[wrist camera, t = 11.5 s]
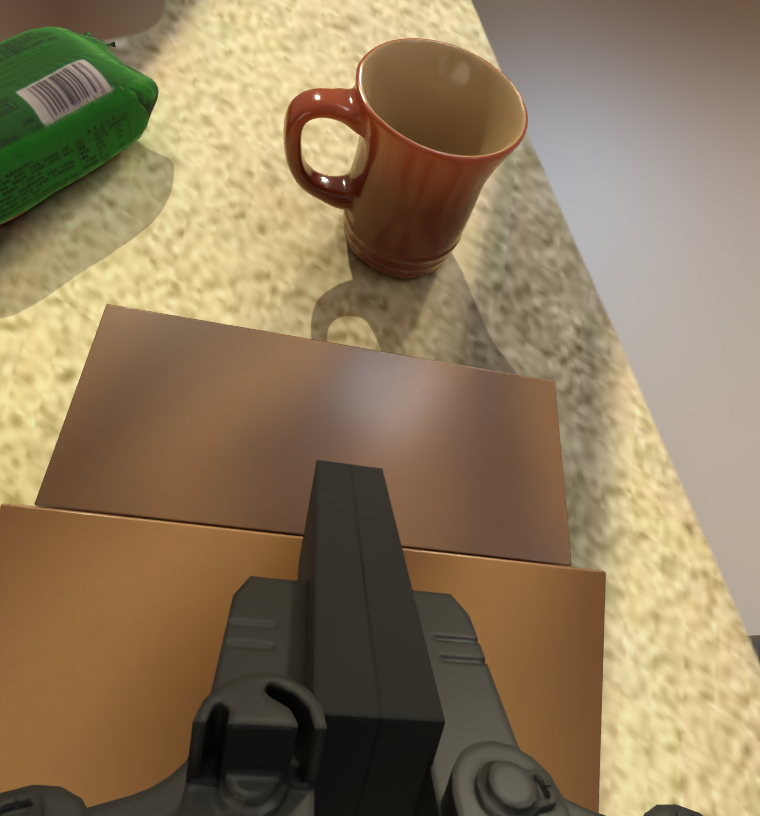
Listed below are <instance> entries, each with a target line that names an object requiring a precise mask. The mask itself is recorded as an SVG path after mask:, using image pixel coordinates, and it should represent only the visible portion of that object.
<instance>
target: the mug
mask: <svg viewBox="0 0 760 816" xmlns="http://www.w3.org/2000/svg"><path fill="white" fill-rule="evenodd" d="M315 118H330V119H335V120H338V121H340V122H342V123H344V124H346V125H347V126H348V127H350V128H351V129H352V130H353V131H355V132H356V133H357V134H359V135H360V136H359V141H358V146H357V150H356V154H355V157H354V161H353V164H352V167H351V170H350V171H349V172H348V173H347V174H346V175H342V176H328V175H323V174H320V173H318V172H316V171H315V170H313V169H312V168H311V167H310V166H309V165H308V164H307V162H306V161H305V159H304V157H303V154H302V147H301V136H302V130H303V127H304V125H305V124H306V123H307V122H308V121H310V120H312V119H315ZM527 124H528V117H527V111H526V107H525V104H524V102H523V99H522V97H521V96H520V94H519V92H518V91H517V89H516V88H515V86H514V85H513V84H512V83H511V82H510V80H509V79H508V78H507V77H506V76H505V75H504V74H503V73H502V72H500V71H499V70H498V69H497V68H495V67H494V66H493V65H491V64H490V63H489V62H487V61H486V60H484V59H482V58H481V57H479V56H477V55H475V54H473V53H471V52H469V51H467V50H465V49H462V48H460V47H457V46H454V45H451V44H448V43H444V42H440V41H435V40H429V39H419V38H407V39H398V40H393V41H389V42H386V43H383V44H381V45H379V46H377V47H375V48H374V49H372V50H371V51H370V52H368V53H367V54H366V55H365V56H364V57H363V58H362V60H361V61H360V62H359V64H358V67H357V70H356V83H355V86H354V87H353V88H351V89H343V88H336V89H328V88H316V89H310V90H307V91H304V92H302V93H300V94H299V95H298V96H296V97H295V98H294V99H293V100H292V101H291V103H290V104H289V106H288V109H287V111H286V114H285V120H284V130H283V134H284V149H285V155H286V160H287V164H288V166H289V169H290V171H291V173H292V175H293V177H294V179H295V180H296V182H297V183H298V184H299V186H300V187H301V188H302V189H303V190H305V191H306V192H307V193H309V194H310V195H312V196H314V197H316V198H318V199H319V200H321V201H323V202H325V203H327V204H329V205H331V206H333V207H336V208H340V209H344V216H343V217H344V230H345V235H346V239H347V242H348V244H349V246H350V248H351V250H352V251H353V252H354V253H355V255H356V256H357V257H358V258H359V259H361V260H362V261H363V262H364V263H365V264H367V265H368V266H370V267H371V268H373V269H375V270H377V271H379V272H381V273H383V274H386V275H390V276H394V277H400V278H414V277H420V276H423V275H426V274H429V273H431V272H433V271H434V270H436V269H437V268H438V267H439V266H440V265H441V264H442V263H443V262H444V261H445V260H446V259H447V258H448V256H449V255H450V254H451V252H452V251H453V249H454V248H455V247H456V245H457V244H458V242H459V240H460V238H461V235H462V232H463V230H464V228H465V226H466V224H467V222H468V219H469V217H470V215H471V213H472V211H473V208H474V206H475V203H476V201H477V198H478V196H479V194H480V191H481V189H482V187H483V186H484V184H485V182H486V181H487V179H488V178H489V176H490V175H491V174H492V173H493V171H494V170H495V169H496V168H497V167H498V166H499V165H500V164H501V163H502V162H503V161H504V160H505V159H506V158H507V157H508V156H509V155H510V154H511V153H512V152H513V151H514V150H515V149H516V147H517V146H518V145H519V144H520V142H521V141H522V139H523V138H524V135H525V133H526V129H527Z"/></svg>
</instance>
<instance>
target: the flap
mask: <svg viewBox="0 0 760 816" xmlns="http://www.w3.org/2000/svg"><path fill="white" fill-rule="evenodd" d="M302 541H303V537H301V536H292V535H283V534H274V533H266V532H257V531H248V530H239V529H230V528H221V527H212V526H204V525H195V524H186V523H177V522H168V521H159V520H150V519H142V518H133V517H124V516H115V515H106V514H97V513H88V512H79V511H71V510H62V509H53V508H44V507H35V506H26V505H17V504H2V505H1V507H0V793H2V792H6V791H10V790H14V789H18V788H21V787H25V786H29V785H46V786H60V787H63V788H64V789H66V790H68V791H70V792H71V793H73V794H75V795H77V796H78V797H80V798H82V800H83V801H84V803H85V805H86V807H87V808H88V807H91V806H95V805H98V804H102V803H105V802H109V801H112V800H116V799H119V798H123V797H127V796H130V795H133V794H135V793H138V792H141V791H143V790H146V789H148V788H151V787H153V786H154V785H156V784H158V783H159V782H161V781H162V780H164V779H166V778H167V777H169V776H170V775H171V774H173V773H174V772H175V771H176V770H177V769H178V768H179V767H180V766H181V765H182V764H183V763H184V762H185V761H186V760H187V758H188V757H189V748H190V740H191V731H192V723H193V720H194V718H195V716H196V714H197V712H198V710H199V708H200V706H201V704H202V702H203V700H204V699H205V698H206V697H207V696H208V695H209V694H210V693H211V689H212V685H213V680H214V676H215V672H216V667H217V663H218V659H219V654H220V650H221V646H222V642H223V637H224V633H225V628H226V624H227V620H228V615H229V611H230V607H231V602H232V598H233V595H234V594H235V592H236V591H237V590H238V589H239V588H240V587H241V586H242V585H243V584H244V583H245V581H246V580H247V579H248V578H249V577H250V576H255V577H265V578H275V579H285V580H296V581H297V580H298V564H299V558H300V552H301V546H302ZM402 549H403V553H404V557H405V561H406V565H407V569H408V573H409V578H410V582H411V586H412V590H416V591H426V592H436V593H446V594H451V595H452V596H453V597H454V598H455V600H456V601H457V602H458V603H459V604H460V605H461V606H462V608H463V609H464V610H465V611H466V612H467V613H468V614H469V616H470V619H471V622H472V624H473V627H474V629H475V632H476V635H477V637H478V643H480V645H481V648H482V651H483V653H484V656H485V664H488V667H489V669H490V672H491V675H492V677H493V680H494V683H495V685H496V688H497V691H498V693H499V696H500V699H501V701H502V704H503V707H504V709H505V712H506V715H507V717H508V720H509V723H510V725H511V728H512V731H513V733H514V736H515V739H516V741H517V744H518V746H519V748H520V750H521V751H523V752H524V753H526V754H528V755H530V756H531V757H533V758H534V759H535V760H536V761H537V762H538V763H539V764H540V765H541V766H542V767H543V768H544V769H545V770H546V771H547V772H548V773H549V774H550V775H551V777H552V779H553V780H554V782H555V784H556V785H557V787H558V789H559V791H560V792H561V794H562V796H563V797H564V798H566V799H567V800H569V801H571V802H573V803H575V804H578V805H580V806H582V807H584V808H586V809H589V810H592V811H594V812H597V813H598V811H599V778H600V746H601V713H602V680H603V647H604V614H605V581H606V573H605V572H604V571H600V570H593V569H585V568H576V567H567V566H558V565H549V564H540V563H531V562H523V561H514V560H505V559H496V558H487V557H478V556H469V555H461V554H452V553H443V552H434V551H425V550H416V549H407V548H402Z"/></svg>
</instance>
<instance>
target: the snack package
mask: <svg viewBox="0 0 760 816" xmlns="http://www.w3.org/2000/svg"><path fill="white" fill-rule="evenodd" d="M109 46H112V47H116V46H115V42H113V43H111V44H106V43H105V42H104V41H102V40H99V39H97V38H95V37H93V36H92V35H91V34H90V33H88V32H86V33H85V34H84V35H81V34H77V33H74V32H72V31H70V30H67V29H64V28H59V27H43V28H38V29H33V30H29V31H26V32H23V33H21V34H18V35H16V36H13V37H10V38H8V39H6V40H4V41H2V42H0V225H1V224H3V223H6V222H8V221H11V220H13V219H14V218H16V217H18V216H20V215H22V214H23V213H25V212H26V211H28V210H29V209H31V208H32V207H34V206H35V205H37V204H38V203H40V202H41V201H43V200H44V199H46V198H47V197H49V196H50V195H52V194H53V193H55V192H56V191H58V190H60V189H62V188H64V187H65V186H67V185H69V184H71V183H73V182H75V181H76V180H78V179H80V178H81V177H83V176H85V175H86V174H88V173H89V172H91V171H93V170H94V169H96V168H98V167H99V166H101V165H103V164H104V163H106V162H107V161H109V160H110V159H111V158H113V157H114V156H116V155H117V154H118V153H120V152H122V151H123V150H125V149H126V148H127V147H129V146H130V145H131V144H133V143H134V142H135V141H136V140H137V139H139V138H140V136H141V135H142V133H143V132H144V130H145V129H146V127H147V124H148V121H149V118H150V115H151V112H152V110H153V108H154V106H155V103H156V101H157V98H158V87H157V85H156V83H155V82H154V81H153V80H152V79H151V78H149V77H147V76H146V75H144V74H142V73H140V72H139V71H136V70H134V69H132V68H130V67H128V66H126V65H125V64H123V63H122V62H121V61H120V60H119V59H118V58H117V57H116V56H114V55H113V54H112V53H111V52H110V51H109V49H108V47H109Z"/></svg>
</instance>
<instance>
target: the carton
mask: <svg viewBox="0 0 760 816" xmlns="http://www.w3.org/2000/svg"><path fill="white" fill-rule="evenodd" d="M317 460H323V461H331V462H338V463H345V464H353V465H360V466H367V467H375V468H382V469H383V473H384V477H385V481H386V485H387V489H388V493H389V497H390V501H391V505H392V509H393V513H394V517H395V521H396V525H397V529H398V533H399V537H400V541H401V545H402V548H407V549H416V550H425V551H434V552H443V553H452V554H461V555H469V556H478V557H487V558H496V559H505V560H514V561H523V562H531V563H540V564H549V565H558V566H567V567H568V566H571V565H572V563H571V552H570V541H569V530H568V520H567V509H566V498H565V487H564V477H563V466H562V455H561V444H560V434H559V423H558V412H557V401H556V390H555V382H554V381H550V380H544V379H539V378H533V377H527V376H521V375H515V374H510V373H504V372H498V371H492V370H487V369H481V368H475V367H469V366H463V365H458V364H452V363H446V362H440V361H434V360H429V359H423V358H417V357H411V356H405V355H400V354H394V353H388V352H382V351H377V350H371V349H365V348H359V347H353V346H348V345H342V344H336V343H330V342H324V341H319V340H313V339H307V338H301V337H295V336H290V335H284V334H278V333H272V332H267V331H261V330H255V329H249V328H243V327H238V326H232V325H226V324H220V323H214V322H209V321H203V320H197V319H191V318H185V317H180V316H174V315H168V314H162V313H157V312H151V311H145V310H139V309H133V308H128V307H122V306H116V305H110V304H107V305H106V307H105V310H104V313H103V316H102V319H101V321H100V324H99V327H98V330H97V332H96V335H95V338H94V341H93V343H92V346H91V349H90V352H89V355H88V357H87V360H86V363H85V366H84V368H83V371H82V374H81V377H80V379H79V382H78V385H77V388H76V391H75V393H74V396H73V399H72V402H71V404H70V407H69V410H68V413H67V415H66V418H65V421H64V424H63V427H62V429H61V432H60V435H59V438H58V440H57V443H56V446H55V449H54V451H53V454H52V457H51V460H50V463H49V465H48V468H47V471H46V474H45V476H44V479H43V482H42V485H41V487H40V490H39V493H38V496H37V499H36V501H35V505H36V506H37V507H44V508H53V509H62V510H71V511H79V512H88V513H97V514H106V515H115V516H124V517H133V518H142V519H150V520H159V521H168V522H177V523H186V524H195V525H204V526H212V527H221V528H230V529H239V530H248V531H257V532H266V533H274V534H283V535H292V536H301V537H303V535H304V529H305V524H306V518H307V512H308V507H309V501H310V495H311V490H312V484H313V478H314V472H315V467H316V461H317Z"/></svg>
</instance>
